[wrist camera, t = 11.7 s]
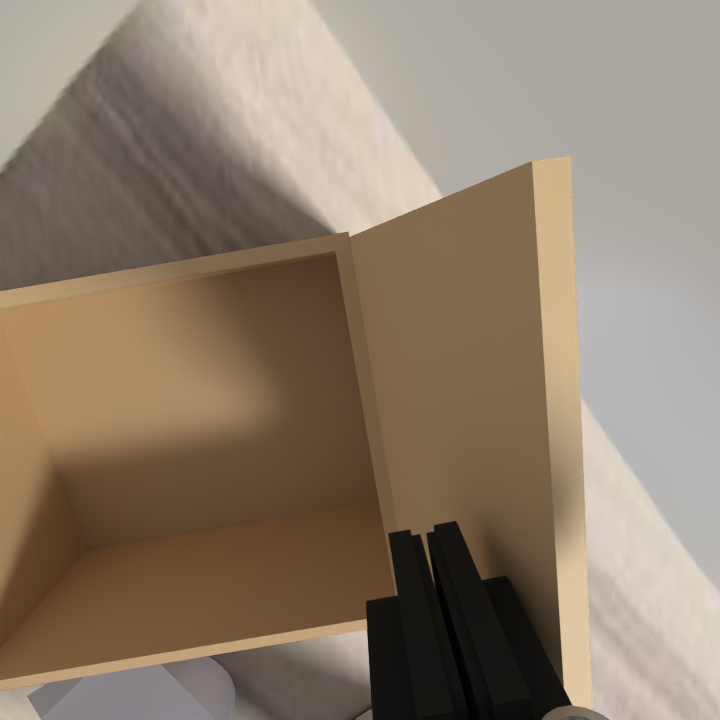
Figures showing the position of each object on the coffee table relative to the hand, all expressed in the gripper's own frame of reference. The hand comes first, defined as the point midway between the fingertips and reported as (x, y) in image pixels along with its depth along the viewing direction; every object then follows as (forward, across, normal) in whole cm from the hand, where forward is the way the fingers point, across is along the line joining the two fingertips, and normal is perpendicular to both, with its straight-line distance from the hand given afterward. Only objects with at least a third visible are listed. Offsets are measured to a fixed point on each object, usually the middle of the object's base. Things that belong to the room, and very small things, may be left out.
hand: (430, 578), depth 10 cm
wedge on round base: (+18, +21, +21) cm, 35 cm away
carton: (+18, +12, 0) cm, 21 cm away
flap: (+3, -1, +1) cm, 3 cm away
